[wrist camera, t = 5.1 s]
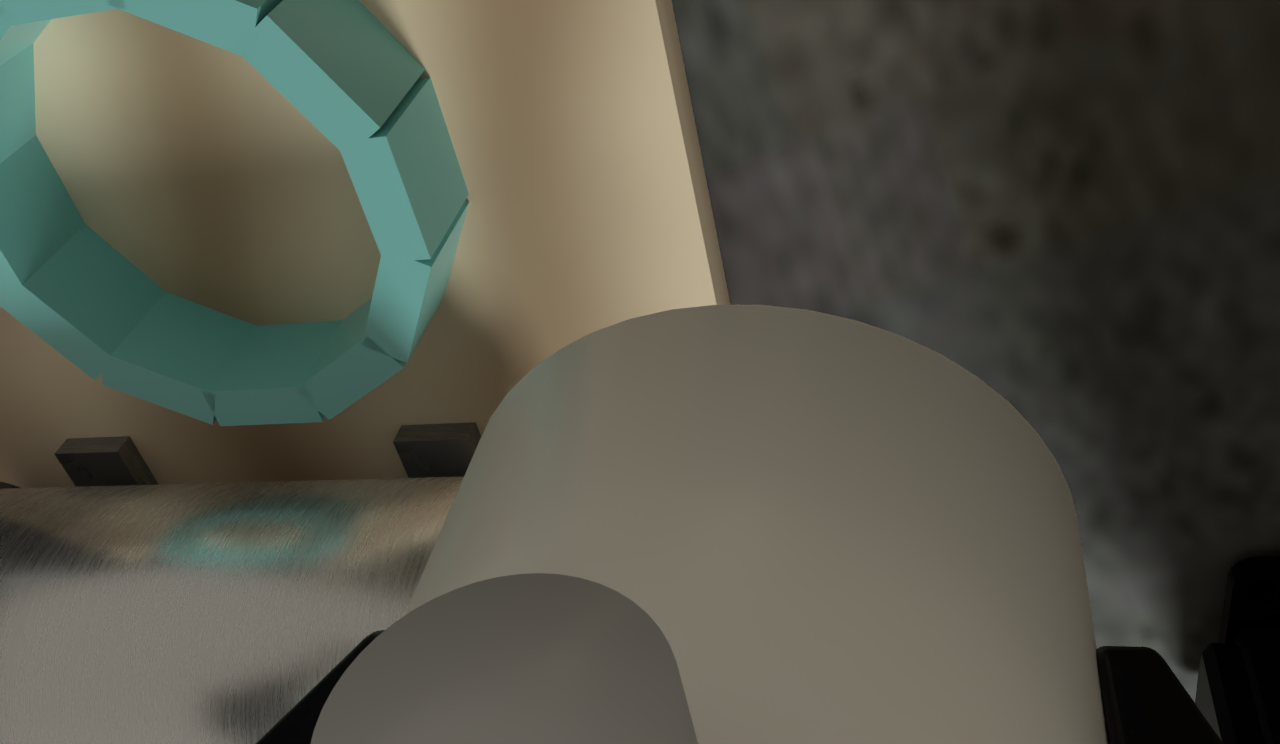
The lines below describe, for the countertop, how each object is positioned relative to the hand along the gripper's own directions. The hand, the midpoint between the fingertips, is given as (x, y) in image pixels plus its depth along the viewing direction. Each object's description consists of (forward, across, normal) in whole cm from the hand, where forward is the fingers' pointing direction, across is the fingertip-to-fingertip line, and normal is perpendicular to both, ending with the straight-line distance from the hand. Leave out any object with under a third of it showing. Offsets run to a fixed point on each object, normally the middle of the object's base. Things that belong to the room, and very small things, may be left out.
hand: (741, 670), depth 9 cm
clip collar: (+12, +10, 0) cm, 16 cm away
